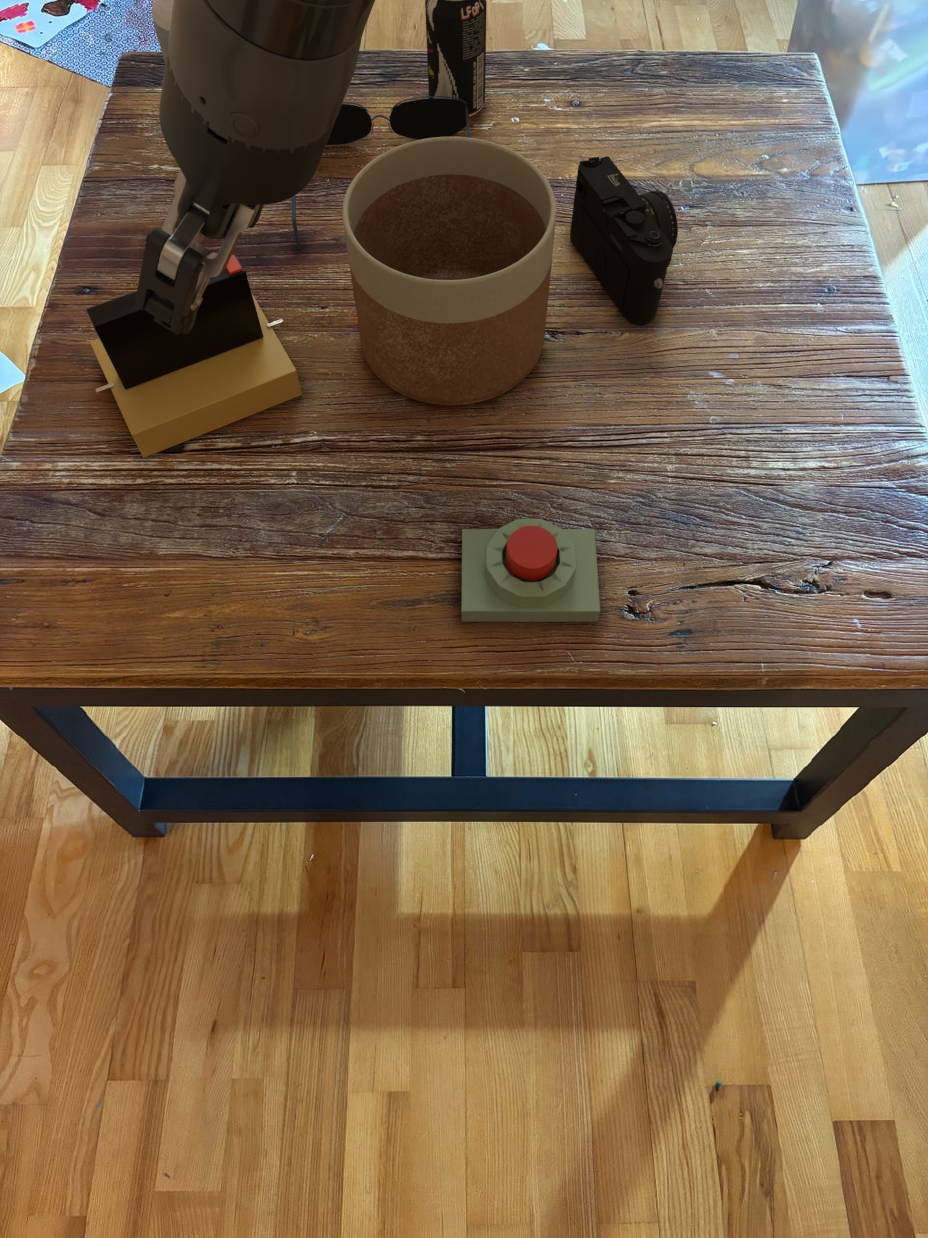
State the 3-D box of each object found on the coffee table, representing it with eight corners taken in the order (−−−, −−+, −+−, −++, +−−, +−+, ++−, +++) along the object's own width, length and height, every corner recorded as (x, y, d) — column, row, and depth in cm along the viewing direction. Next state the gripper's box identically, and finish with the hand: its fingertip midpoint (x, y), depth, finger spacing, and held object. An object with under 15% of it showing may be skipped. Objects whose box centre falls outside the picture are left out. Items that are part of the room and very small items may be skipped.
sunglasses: (468, 135, 92) (468, 92, 88) (479, 253, 87) (480, 214, 83) (296, 145, 92) (287, 102, 87) (298, 264, 87) (289, 225, 82)
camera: (702, 310, 81) (724, 236, 74) (631, 335, 80) (646, 262, 73) (624, 209, 87) (638, 131, 80) (557, 231, 86) (565, 154, 79)
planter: (401, 257, 85) (390, 116, 72) (566, 299, 82) (583, 161, 70) (332, 382, 78) (307, 251, 66) (509, 433, 75) (517, 306, 63)
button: (506, 580, 66) (507, 568, 64) (505, 537, 67) (506, 525, 66) (556, 581, 66) (558, 568, 64) (554, 538, 67) (556, 525, 66)
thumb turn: (125, 390, 74) (92, 323, 67) (117, 373, 75) (84, 306, 68) (264, 337, 76) (245, 268, 70) (255, 321, 77) (235, 251, 71)
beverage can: (430, 88, 96) (426, -37, 85) (485, 90, 96) (487, -36, 85) (427, 124, 93) (422, -1, 83) (484, 125, 93) (485, 1, 82)
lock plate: (130, 463, 74) (117, 438, 72) (89, 371, 79) (75, 344, 76) (314, 390, 78) (308, 364, 75) (265, 305, 82) (258, 277, 79)
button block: (461, 621, 68) (461, 599, 64) (462, 540, 71) (461, 515, 68) (597, 622, 68) (603, 599, 64) (592, 540, 71) (597, 515, 68)
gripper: (253, -91, 41) (203, 147, 56) (93, 124, 36) (85, 323, 51) (397, 16, 43) (313, 218, 58) (265, 234, 38) (209, 395, 53)
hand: (206, 267), depth 54 cm, fingers open, 8 cm apart
